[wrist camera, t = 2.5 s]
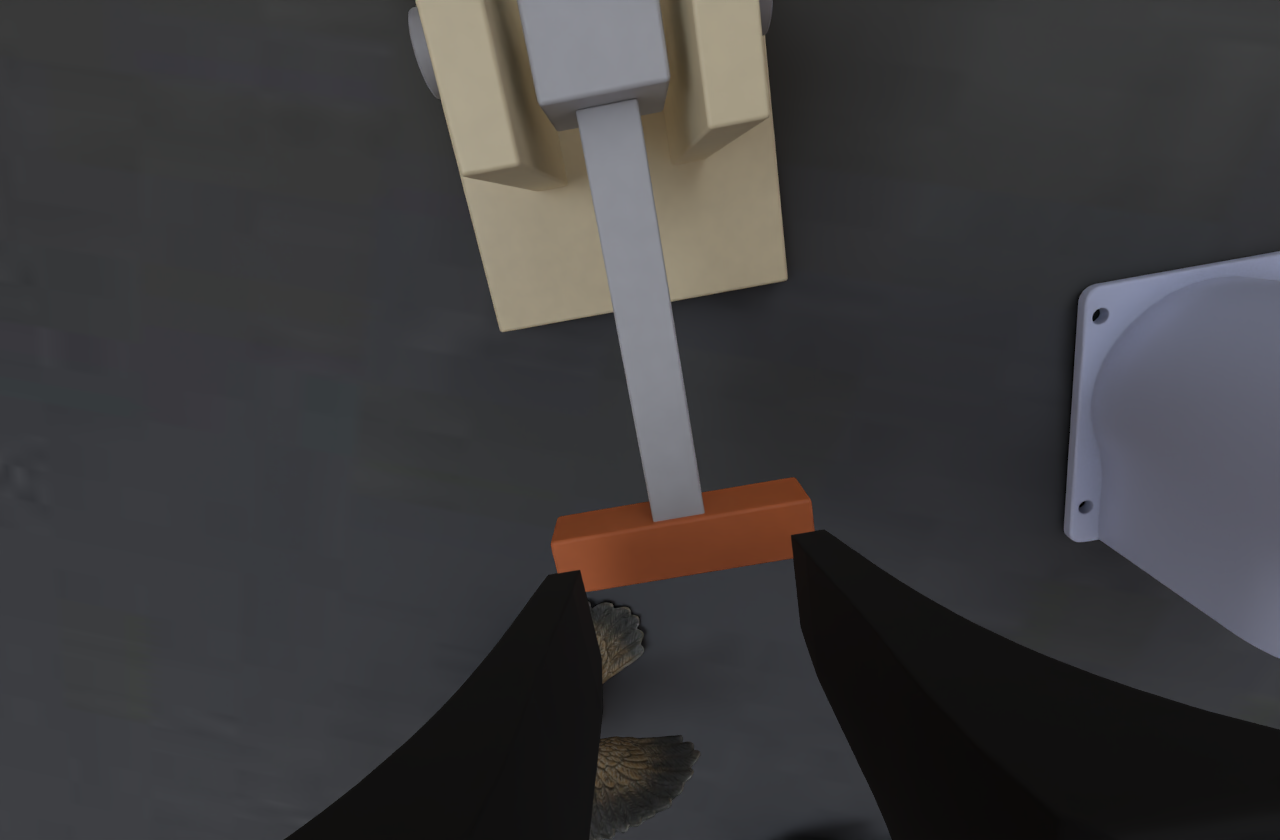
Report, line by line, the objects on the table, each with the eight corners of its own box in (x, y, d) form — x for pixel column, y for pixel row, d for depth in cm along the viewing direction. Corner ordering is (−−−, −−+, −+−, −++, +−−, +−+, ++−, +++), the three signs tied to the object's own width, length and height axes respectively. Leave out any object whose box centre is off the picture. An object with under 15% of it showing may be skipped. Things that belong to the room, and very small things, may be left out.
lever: (795, 517, 14) (826, 569, 12) (571, 554, 15) (559, 612, 12) (727, -71, 11) (752, -153, 9) (438, -10, 11) (388, -76, 9)
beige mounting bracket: (779, 276, 19) (906, 332, 11) (507, 326, 20) (409, 421, 11) (733, -193, 16) (874, -730, 7) (395, -121, 16) (98, -541, 7)
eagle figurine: (595, 829, 26) (737, 733, 22) (470, 973, 20) (638, 874, 16) (499, 675, 28) (613, 565, 24) (360, 761, 22) (484, 631, 18)
